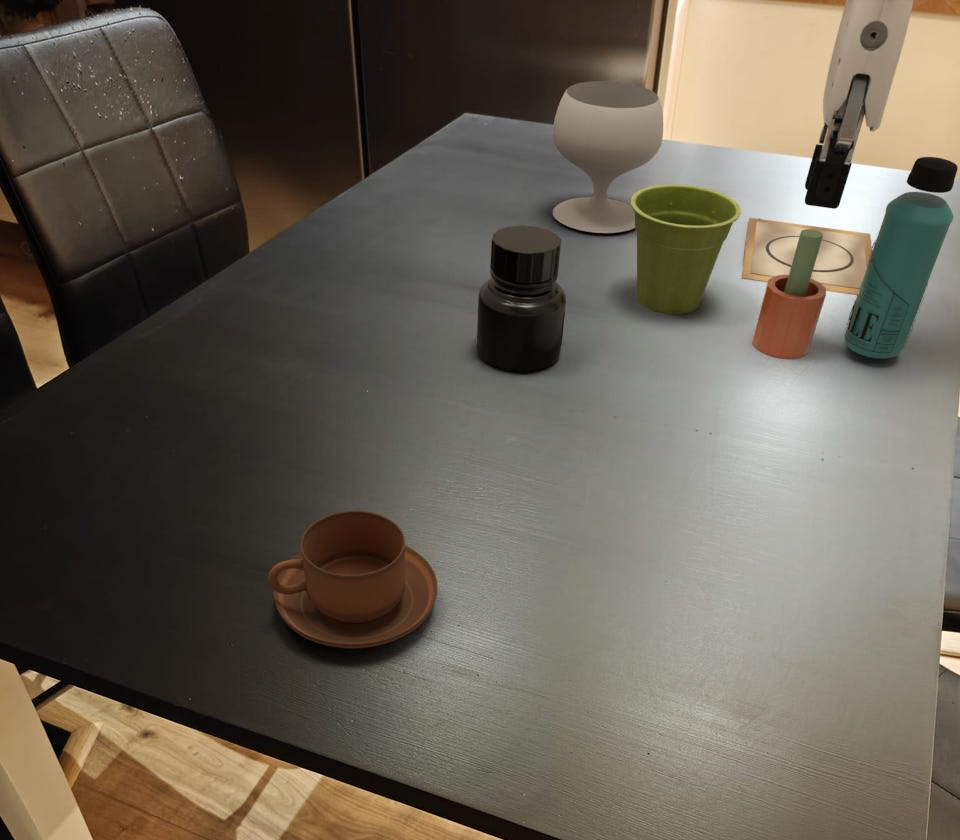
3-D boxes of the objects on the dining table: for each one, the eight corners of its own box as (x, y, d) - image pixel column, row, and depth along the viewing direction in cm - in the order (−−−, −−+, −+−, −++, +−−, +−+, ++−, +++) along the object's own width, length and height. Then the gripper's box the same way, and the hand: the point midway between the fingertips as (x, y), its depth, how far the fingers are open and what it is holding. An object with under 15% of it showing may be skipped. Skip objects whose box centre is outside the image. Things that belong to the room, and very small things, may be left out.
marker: (790, 341, 102) (823, 230, 94) (790, 351, 101) (823, 238, 92) (770, 338, 102) (801, 227, 94) (769, 348, 101) (800, 235, 93)
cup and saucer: (326, 687, 64) (319, 623, 60) (248, 590, 71) (237, 526, 67) (468, 621, 70) (471, 557, 65) (383, 536, 76) (380, 473, 72)
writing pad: (868, 238, 125) (870, 232, 125) (875, 301, 111) (878, 295, 111) (748, 221, 128) (749, 216, 127) (740, 282, 114) (742, 275, 113)
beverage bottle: (908, 357, 102) (986, 161, 88) (882, 379, 98) (958, 178, 84) (853, 337, 105) (919, 144, 90) (825, 357, 101) (890, 159, 87)
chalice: (621, 247, 120) (640, 119, 109) (526, 221, 125) (535, 96, 114) (665, 214, 128) (686, 92, 118) (575, 191, 133) (587, 72, 123)
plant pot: (596, 292, 110) (610, 192, 102) (678, 275, 114) (697, 178, 106) (654, 336, 103) (673, 232, 95) (739, 316, 107) (764, 215, 99)
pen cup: (806, 340, 104) (826, 278, 99) (806, 366, 99) (826, 303, 94) (752, 332, 104) (768, 270, 100) (749, 358, 100) (766, 295, 95)
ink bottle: (578, 351, 100) (592, 237, 91) (535, 384, 95) (545, 267, 86) (502, 324, 103) (509, 213, 95) (456, 355, 98) (459, 239, 90)
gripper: (943, -7, 72) (863, 235, 84) (925, -44, 83) (857, 175, 96) (843, -18, 73) (779, 224, 86) (839, -52, 84) (783, 165, 97)
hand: (821, 196), depth 91 cm, fingers open, 3 cm apart
